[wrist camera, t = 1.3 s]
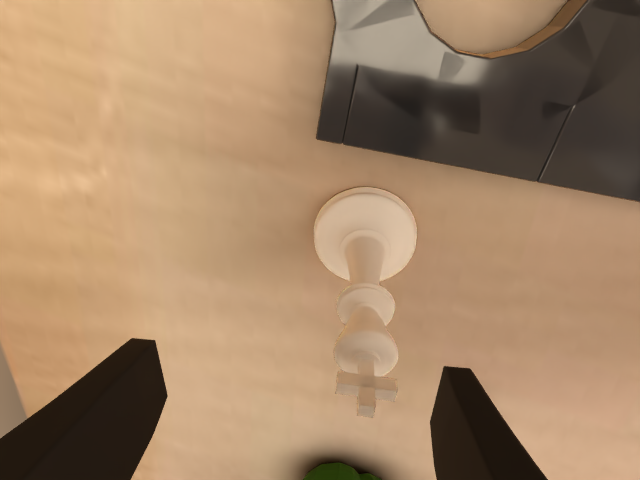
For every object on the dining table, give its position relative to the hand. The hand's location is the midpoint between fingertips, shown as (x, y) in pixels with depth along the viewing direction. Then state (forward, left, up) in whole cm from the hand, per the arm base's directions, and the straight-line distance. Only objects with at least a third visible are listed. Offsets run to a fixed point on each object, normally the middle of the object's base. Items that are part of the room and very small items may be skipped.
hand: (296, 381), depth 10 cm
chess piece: (-2, +1, -10) cm, 11 cm away
